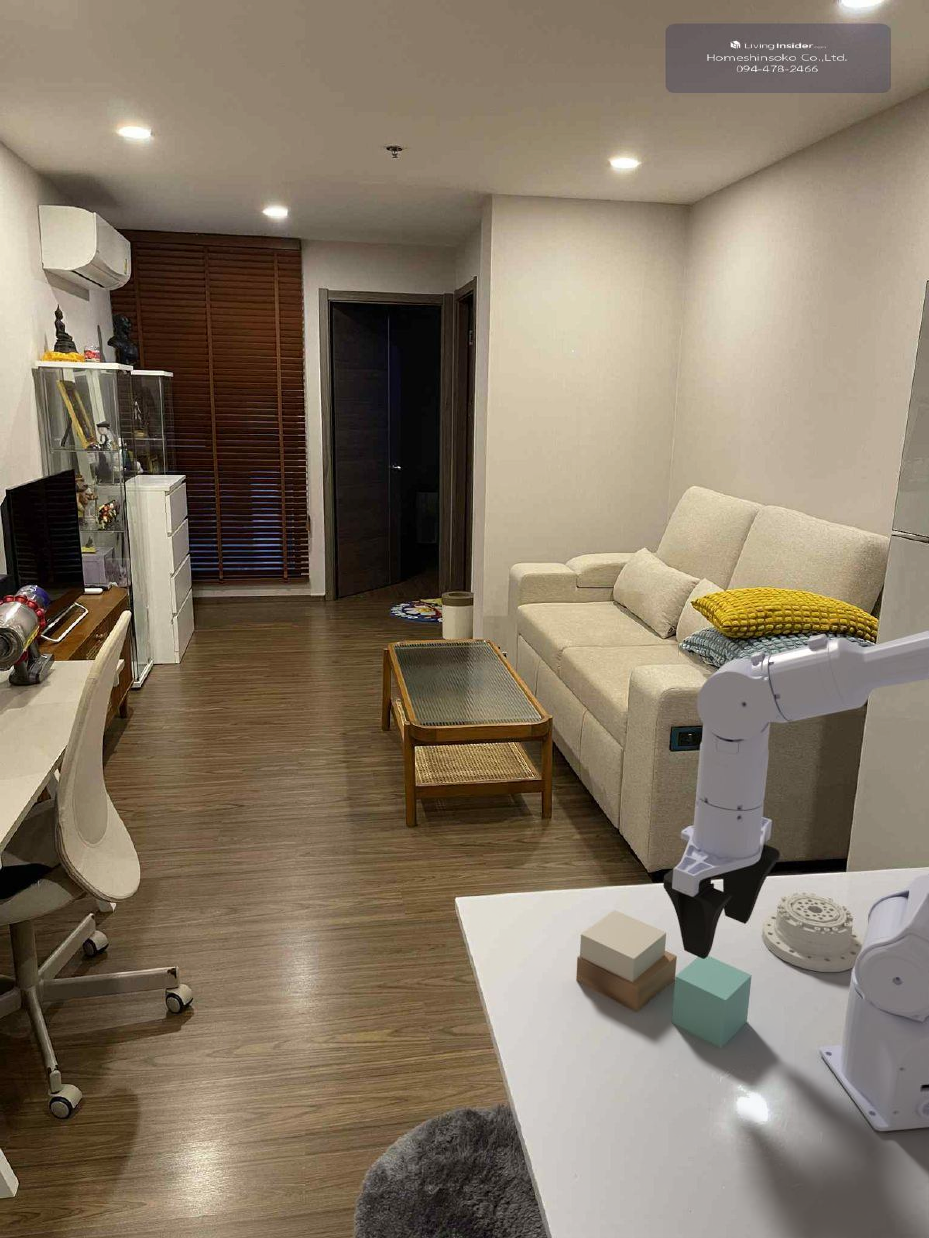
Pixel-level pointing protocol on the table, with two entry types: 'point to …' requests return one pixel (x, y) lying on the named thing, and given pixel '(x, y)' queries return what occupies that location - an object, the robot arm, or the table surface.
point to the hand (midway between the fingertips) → (716, 935)
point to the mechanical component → (812, 933)
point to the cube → (711, 1000)
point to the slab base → (623, 989)
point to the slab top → (623, 945)
